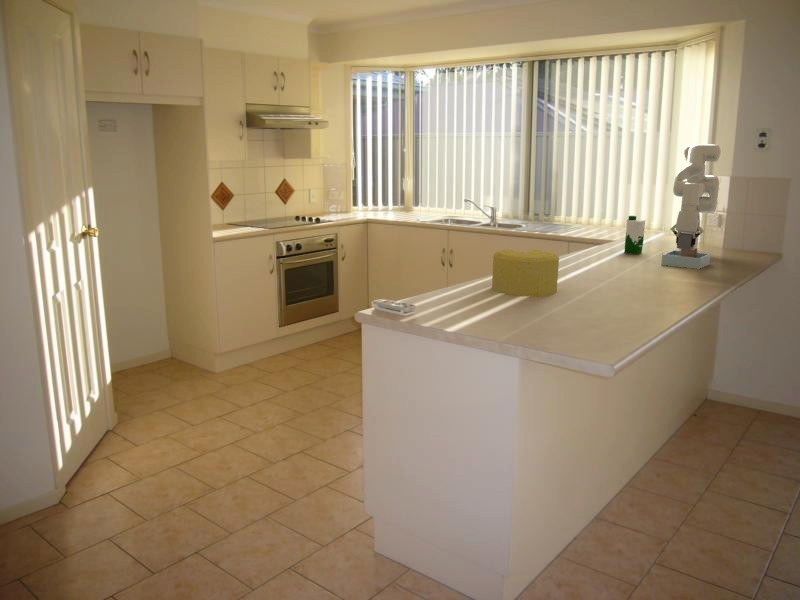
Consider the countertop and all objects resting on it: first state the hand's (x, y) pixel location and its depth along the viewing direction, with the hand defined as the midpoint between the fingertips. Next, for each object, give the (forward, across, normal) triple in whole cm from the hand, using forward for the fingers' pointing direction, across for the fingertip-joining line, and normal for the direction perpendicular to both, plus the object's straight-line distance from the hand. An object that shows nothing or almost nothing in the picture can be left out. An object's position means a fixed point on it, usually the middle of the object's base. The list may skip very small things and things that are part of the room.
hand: (685, 245), depth 336 cm
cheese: (+12, +33, +103) cm, 109 cm away
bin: (+10, 0, -4) cm, 11 cm away
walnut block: (+9, 0, -8) cm, 13 cm away
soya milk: (+10, +33, -23) cm, 42 cm away
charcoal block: (+1, 0, 0) cm, 1 cm away
